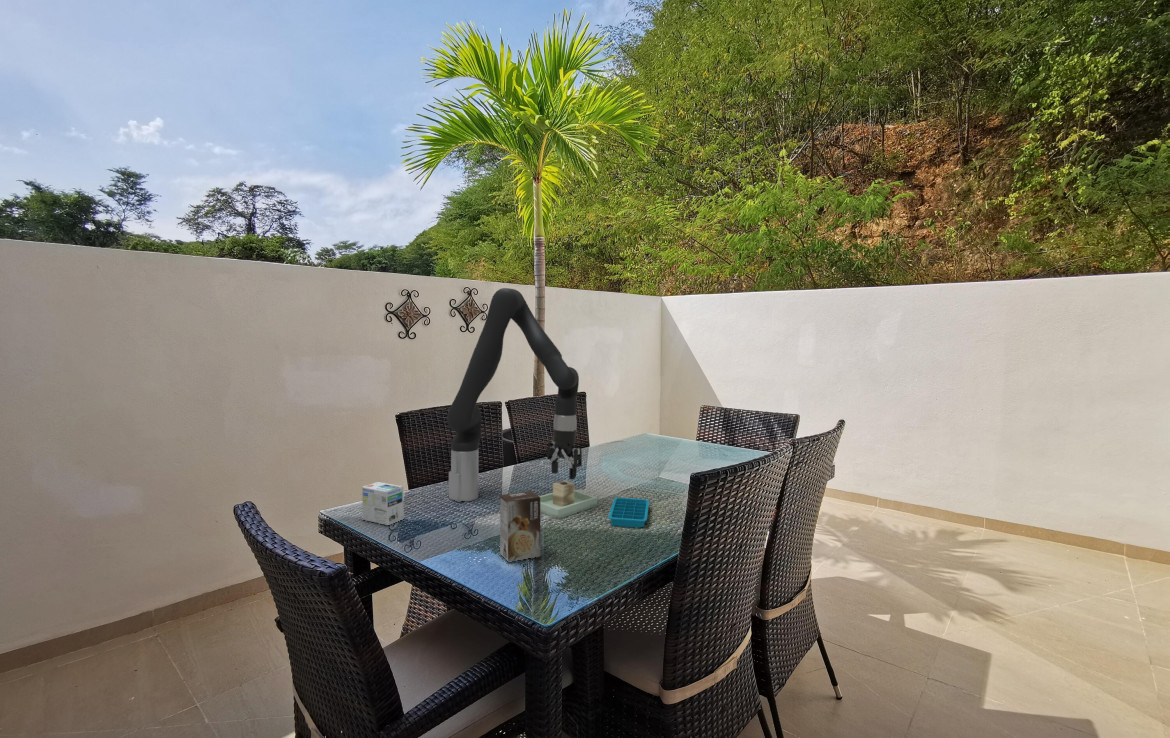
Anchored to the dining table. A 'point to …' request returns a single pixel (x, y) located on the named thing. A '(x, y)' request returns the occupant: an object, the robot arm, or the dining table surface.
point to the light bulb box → (383, 503)
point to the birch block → (563, 493)
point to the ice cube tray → (629, 512)
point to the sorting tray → (580, 504)
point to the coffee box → (520, 526)
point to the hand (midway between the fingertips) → (563, 475)
